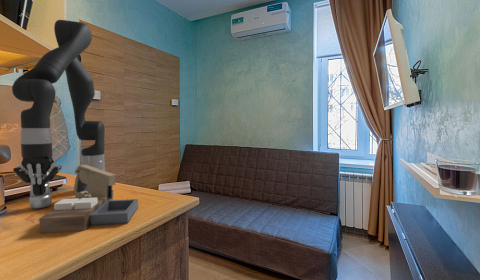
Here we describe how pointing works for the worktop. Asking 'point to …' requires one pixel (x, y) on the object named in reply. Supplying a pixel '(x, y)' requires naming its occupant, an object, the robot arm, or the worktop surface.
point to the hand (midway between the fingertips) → (39, 195)
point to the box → (114, 212)
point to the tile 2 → (85, 203)
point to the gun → (93, 182)
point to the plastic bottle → (40, 197)
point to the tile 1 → (65, 204)
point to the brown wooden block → (68, 219)
